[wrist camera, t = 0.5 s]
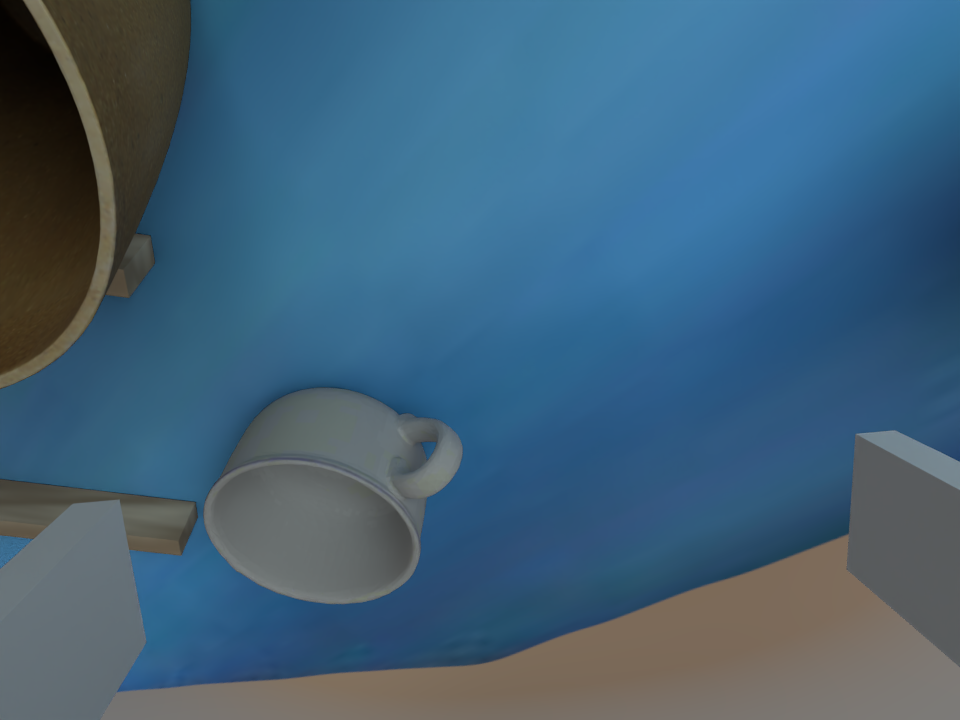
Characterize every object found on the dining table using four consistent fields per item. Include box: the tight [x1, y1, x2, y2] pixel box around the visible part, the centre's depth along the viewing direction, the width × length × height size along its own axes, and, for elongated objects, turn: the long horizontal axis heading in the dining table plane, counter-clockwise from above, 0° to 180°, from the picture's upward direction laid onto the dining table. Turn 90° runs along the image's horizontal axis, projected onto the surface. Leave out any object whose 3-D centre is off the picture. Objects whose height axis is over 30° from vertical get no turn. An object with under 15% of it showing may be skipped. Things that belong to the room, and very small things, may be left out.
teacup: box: [203, 387, 463, 604], centre depth 38 cm, size 14×11×8 cm
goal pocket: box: [0, 234, 198, 555], centre depth 38 cm, size 21×18×3 cm
